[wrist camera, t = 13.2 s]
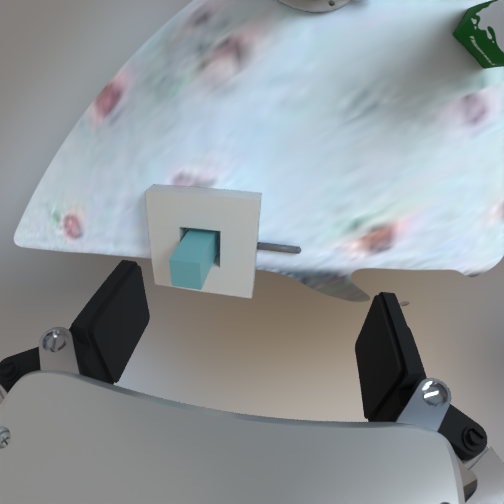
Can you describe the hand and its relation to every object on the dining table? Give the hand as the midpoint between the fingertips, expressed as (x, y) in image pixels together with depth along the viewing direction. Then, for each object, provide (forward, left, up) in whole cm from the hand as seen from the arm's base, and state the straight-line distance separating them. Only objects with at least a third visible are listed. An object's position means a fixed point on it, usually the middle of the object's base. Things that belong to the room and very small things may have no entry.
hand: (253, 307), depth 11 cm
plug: (+10, +14, -30) cm, 35 cm away
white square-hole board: (+7, +14, -30) cm, 34 cm away
